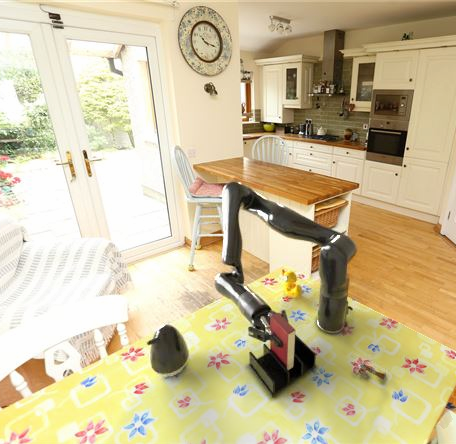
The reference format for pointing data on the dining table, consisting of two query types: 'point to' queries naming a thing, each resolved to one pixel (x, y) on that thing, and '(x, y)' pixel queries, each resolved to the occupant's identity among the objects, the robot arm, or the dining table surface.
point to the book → (283, 340)
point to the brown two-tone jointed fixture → (372, 371)
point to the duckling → (291, 284)
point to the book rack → (282, 367)
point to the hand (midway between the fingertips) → (286, 342)
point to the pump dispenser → (168, 351)
